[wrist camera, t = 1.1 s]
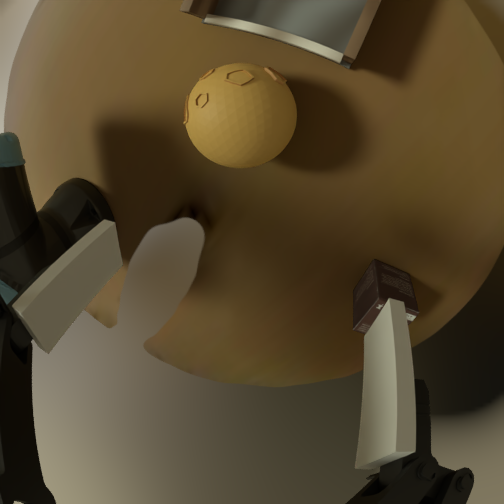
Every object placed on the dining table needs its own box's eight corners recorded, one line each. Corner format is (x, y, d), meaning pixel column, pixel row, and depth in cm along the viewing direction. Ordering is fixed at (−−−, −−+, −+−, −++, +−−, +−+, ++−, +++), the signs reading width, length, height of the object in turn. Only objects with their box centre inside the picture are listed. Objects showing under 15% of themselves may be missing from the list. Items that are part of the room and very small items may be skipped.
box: (351, 289, 36) (350, 330, 30) (373, 256, 32) (378, 297, 26) (387, 303, 36) (391, 344, 30) (411, 273, 32) (420, 314, 26)
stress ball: (301, 143, 28) (333, 82, 18) (242, 205, 26) (256, 152, 16) (232, 94, 28) (239, 28, 18) (169, 147, 26) (151, 81, 16)
